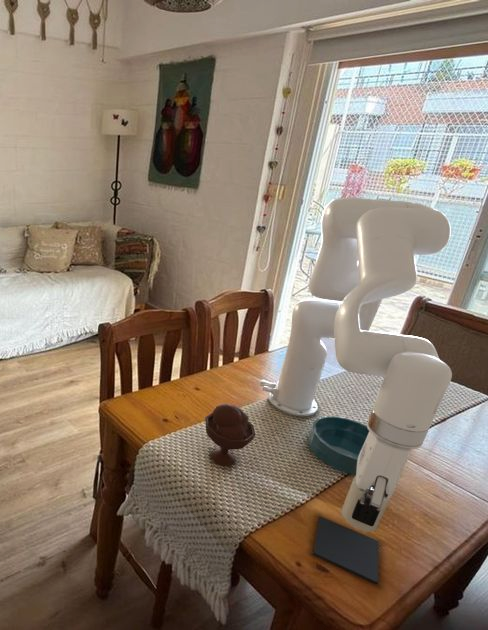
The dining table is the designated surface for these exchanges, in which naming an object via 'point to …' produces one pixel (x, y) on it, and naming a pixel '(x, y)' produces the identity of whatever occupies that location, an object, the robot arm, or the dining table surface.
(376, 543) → the slate coaster
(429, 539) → the dining table surface
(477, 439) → the dining table surface
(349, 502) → the cream cup
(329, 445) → the teal bowl
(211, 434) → the ice cream bowl
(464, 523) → the dining table surface
